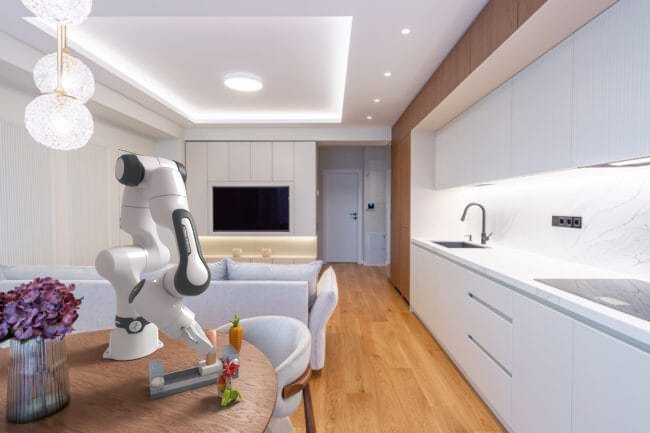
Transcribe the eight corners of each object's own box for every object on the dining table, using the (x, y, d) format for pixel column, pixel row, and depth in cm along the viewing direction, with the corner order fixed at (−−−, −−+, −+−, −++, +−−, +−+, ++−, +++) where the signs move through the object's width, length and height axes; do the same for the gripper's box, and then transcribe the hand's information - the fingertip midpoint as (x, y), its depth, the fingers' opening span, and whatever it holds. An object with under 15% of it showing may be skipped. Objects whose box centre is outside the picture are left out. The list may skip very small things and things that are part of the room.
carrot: (238, 362, 108) (239, 318, 108) (225, 360, 109) (226, 317, 109) (245, 355, 113) (245, 314, 113) (232, 354, 114) (233, 313, 114)
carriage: (198, 370, 99) (199, 329, 99) (218, 365, 102) (218, 326, 102) (202, 378, 94) (203, 335, 94) (222, 373, 97) (223, 331, 97)
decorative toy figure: (210, 409, 86) (226, 409, 80) (203, 366, 89) (218, 363, 83) (230, 399, 90) (247, 399, 85) (223, 359, 93) (239, 356, 88)
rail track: (148, 386, 93) (149, 360, 92) (231, 366, 106) (231, 343, 105) (150, 401, 85) (151, 373, 85) (239, 377, 98) (239, 353, 98)
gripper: (194, 324, 85) (229, 352, 91) (182, 305, 103) (212, 329, 108) (175, 344, 83) (213, 372, 88) (166, 321, 100) (198, 345, 106)
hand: (213, 348), depth 98 cm, fingers closed on carriage, 3 cm apart
